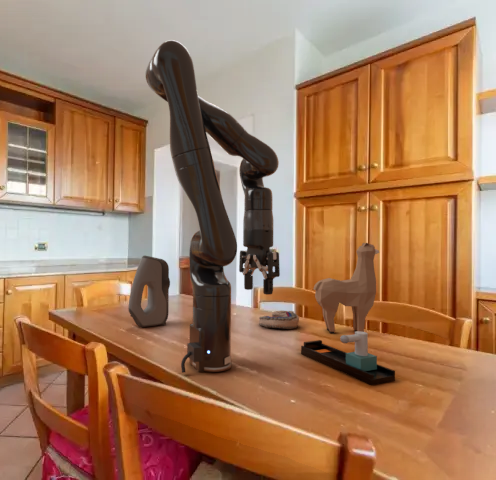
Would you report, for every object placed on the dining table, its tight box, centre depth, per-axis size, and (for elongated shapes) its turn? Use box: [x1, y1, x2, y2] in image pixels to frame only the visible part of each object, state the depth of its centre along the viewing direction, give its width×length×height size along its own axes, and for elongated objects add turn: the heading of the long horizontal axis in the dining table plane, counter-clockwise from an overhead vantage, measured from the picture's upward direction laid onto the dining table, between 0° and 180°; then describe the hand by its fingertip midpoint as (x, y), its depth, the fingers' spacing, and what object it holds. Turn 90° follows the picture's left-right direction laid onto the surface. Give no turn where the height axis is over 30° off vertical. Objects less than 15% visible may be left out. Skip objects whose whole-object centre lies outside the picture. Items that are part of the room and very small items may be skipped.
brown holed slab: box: [127, 255, 171, 328], centre depth 119 cm, size 6×15×25 cm, turn 125°
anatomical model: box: [258, 310, 300, 330], centre depth 120 cm, size 12×16×5 cm
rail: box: [300, 339, 396, 386], centre depth 81 cm, size 7×21×3 cm, turn 21°
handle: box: [339, 331, 378, 371], centre depth 76 cm, size 8×4×8 cm, turn 111°
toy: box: [312, 242, 380, 335], centre depth 112 cm, size 9×20×30 cm, turn 78°
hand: (257, 291), depth 85 cm, fingers open, 8 cm apart
